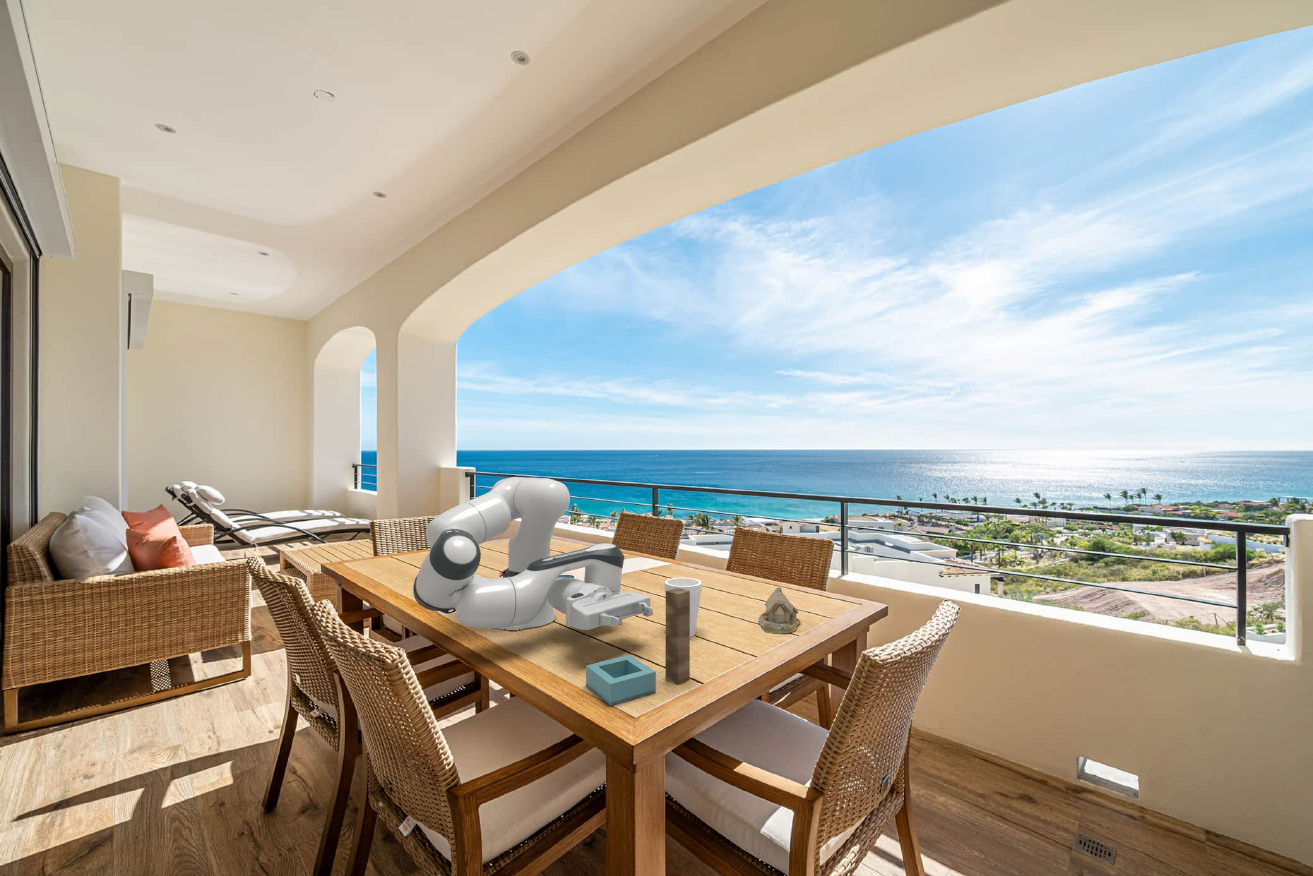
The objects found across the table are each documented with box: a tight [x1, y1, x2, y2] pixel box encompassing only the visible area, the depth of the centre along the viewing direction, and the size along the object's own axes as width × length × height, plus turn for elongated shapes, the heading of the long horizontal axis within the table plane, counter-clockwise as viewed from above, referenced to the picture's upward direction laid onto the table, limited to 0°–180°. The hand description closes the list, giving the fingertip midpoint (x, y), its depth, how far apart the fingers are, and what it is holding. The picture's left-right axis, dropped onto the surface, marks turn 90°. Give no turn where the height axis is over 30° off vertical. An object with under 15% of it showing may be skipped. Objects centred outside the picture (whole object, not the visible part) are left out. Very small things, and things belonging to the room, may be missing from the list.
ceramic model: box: [758, 587, 801, 634], centre depth 143 cm, size 14×11×10 cm
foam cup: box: [664, 577, 703, 638], centre depth 136 cm, size 10×9×13 cm
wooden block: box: [664, 588, 691, 685], centre depth 109 cm, size 4×4×18 cm
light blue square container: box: [585, 654, 657, 707], centre depth 105 cm, size 10×10×4 cm
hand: (635, 617), depth 117 cm, fingers open, 8 cm apart
